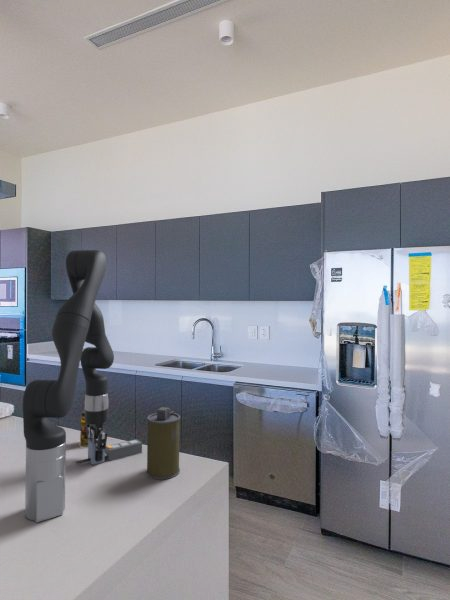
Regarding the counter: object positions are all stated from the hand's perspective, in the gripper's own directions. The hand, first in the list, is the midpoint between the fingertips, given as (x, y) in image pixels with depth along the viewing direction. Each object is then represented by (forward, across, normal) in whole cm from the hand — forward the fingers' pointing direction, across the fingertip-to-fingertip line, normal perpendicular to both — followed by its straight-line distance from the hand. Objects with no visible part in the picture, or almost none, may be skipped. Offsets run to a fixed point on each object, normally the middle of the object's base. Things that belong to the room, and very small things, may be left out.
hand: (96, 458), depth 127 cm
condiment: (+1, +18, -4) cm, 18 cm away
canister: (+1, -20, -14) cm, 25 cm away
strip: (+1, 0, -10) cm, 10 cm away
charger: (+1, 0, +2) cm, 2 cm away
